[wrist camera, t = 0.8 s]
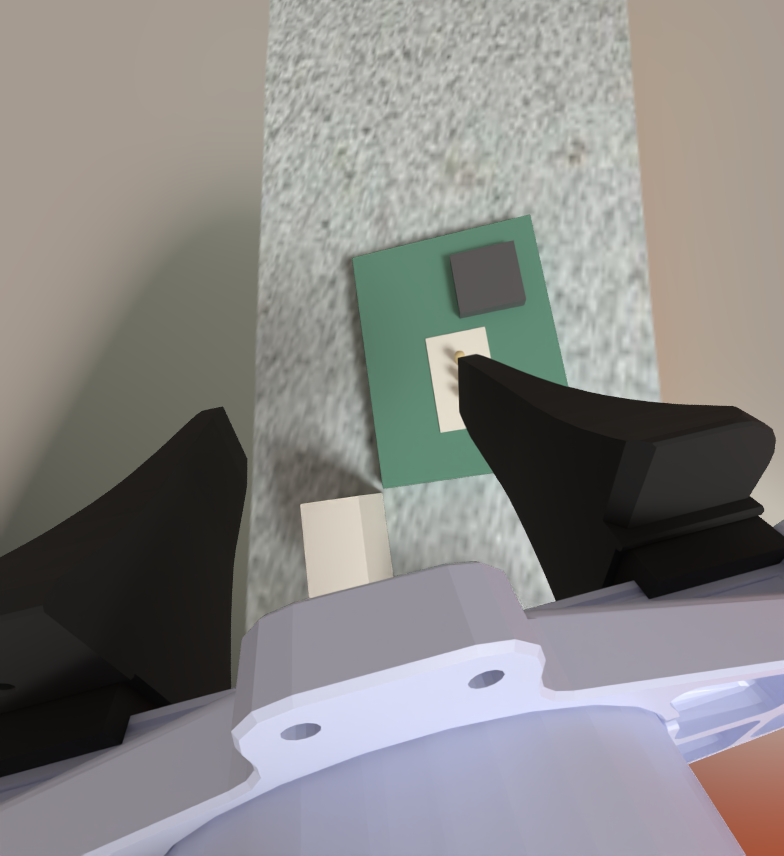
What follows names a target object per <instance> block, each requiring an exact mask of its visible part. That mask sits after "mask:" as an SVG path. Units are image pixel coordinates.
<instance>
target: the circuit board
mask: <svg viewBox="0 0 784 856" xmlns="http://www.w3.org/2000/svg"><path fill="white" fill-rule="evenodd" d="M352 260H353V268H354V275H355V283H356V290H357V298H358V305H359V313H360V320H361V327H362V335H363V342H364V350H365V357H366V365H367V372H368V380H369V387H370V395H371V402H372V410H373V417H374V425H375V432H376V440H377V447H378V455H379V462H380V470H381V477H382V485H383V489H384V488H393V487H400V486H407V485H414V484H421V483H428V482H435V481H442V480H449V479H456V478H463V477H470V476H477V475H484V474H491V473H493V471H492V470H491V468H490V467H489V465H488V464H487V462H486V461H485V459H484V458H483V456H482V455H481V453H480V451H479V450H478V448H477V447H476V445H475V444H474V442H473V440H472V439H471V437H470V435H469V433H468V431H467V429H466V427H465V425H464V422H463V420H462V418H461V416H460V413H459V391H458V358H459V357H463V356H468V355H473V354H479V355H482V356H485V357H488V358H491V359H493V360H496V361H498V362H501V363H503V364H505V365H508V366H510V367H513V368H515V369H518V370H520V371H523V372H525V373H528V374H531V375H533V376H536V377H539V378H542V379H545V380H548V381H551V382H554V383H557V384H560V385H564V386H567V387H568V383H567V379H566V374H565V370H564V365H563V361H562V356H561V352H560V347H559V343H558V338H557V334H556V329H555V325H554V320H553V316H552V311H551V307H550V302H549V298H548V293H547V289H546V284H545V280H544V275H543V271H542V266H541V261H540V257H539V252H538V248H537V243H536V239H535V234H534V230H533V225H532V221H531V216H530V215H526V216H522V217H517V218H513V219H509V220H505V221H501V222H497V223H493V224H489V225H485V226H481V227H476V228H472V229H468V230H464V231H460V232H456V233H452V234H448V235H444V236H440V237H435V238H431V239H427V240H423V241H419V242H415V243H411V244H407V245H403V246H399V247H394V248H390V249H386V250H382V251H378V252H374V253H370V254H366V255H362V256H358V257H353V258H352Z"/></svg>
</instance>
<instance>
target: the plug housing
mask: <svg viewBox="0 0 784 856" xmlns="http://www.w3.org/2000/svg"><path fill="white" fill-rule="evenodd" d="M300 508H301V519H302V529H303V539H304V549H305V559H306V570H307V580H308V590H309V598H313V597H317V596H320V595H324V594H328V593H332V592H336V591H340V590H344V589H348V588H352V587H356V586H360V585H364V584H368V583H372V582H376V581H380V580H383V579H387V578H391V577H393V569H392V562H391V554H390V547H389V539H388V532H387V524H386V517H385V509H384V502H383V494H382V493H377V494H369V495H361V496H354V497H347V498H340V499H333V500H326V501H319V502H311V503H304V504H300Z"/></svg>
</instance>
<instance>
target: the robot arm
mask: <svg viewBox="0 0 784 856" xmlns="http://www.w3.org/2000/svg"><path fill="white" fill-rule="evenodd" d="M458 391H459V413H460V416H461V418H462V420H463V422H464V425H465V427H466V429H467V431H468V433H469V435H470V437H471V439H472V440H473V442H474V444H475V445H476V447H477V448H478V450H479V451H480V453H481V455H482V456H483V458H484V459H485V461H486V462H487V464H488V465H489V467H490V468H491V470H492V471H493V473H494V474H495V476H496V478H497V479H498V481H499V482H500V484H501V485H502V487H503V488H504V490H505V492H506V494H507V495H508V497H509V499H510V501H511V503H512V505H513V507H514V509H515V511H516V513H517V515H518V517H519V519H520V521H521V523H522V525H523V527H524V529H525V532H526V534H527V536H528V538H529V540H530V542H531V544H532V547H533V549H534V551H535V553H536V555H537V558H538V560H539V562H540V565H541V567H542V569H543V572H544V574H545V576H546V578H547V581H548V583H549V585H550V588H551V590H552V593H553V595H554V598H555V600H556V601H555V602H552V603H548V604H544V605H540V606H537V607H533V608H529V609H526V610H523V609H522V607H521V605H520V603H519V601H518V599H517V597H516V595H515V593H514V591H513V589H512V587H511V585H510V583H509V581H508V579H507V577H506V575H505V573H504V571H502V570H499V569H497V568H494V567H491V566H489V565H486V564H483V563H480V562H476V561H471V562H460V563H449V564H443V565H439V566H435V567H431V568H427V569H423V570H419V571H415V572H411V573H407V574H403V575H399V576H395V577H391V578H387V579H383V580H380V581H376V582H372V583H368V584H364V585H360V586H356V587H352V588H348V589H344V590H340V591H336V592H332V593H328V594H324V595H320V596H317V597H313V598H309V599H305V600H301V601H297V602H294V603H291V604H289V605H287V606H284V607H282V608H280V609H277V610H275V611H273V612H270V613H268V614H266V615H264V616H263V617H262V618H260V619H259V620H258V621H257V622H256V624H255V625H254V626H253V627H252V628H251V629H250V630H249V631H248V633H247V634H246V635H245V636H244V637H243V638H242V643H241V651H240V660H239V668H238V677H237V685H236V688H232V689H231V606H232V583H233V567H234V558H235V550H236V545H237V539H238V534H239V528H240V523H241V517H242V512H243V506H244V500H245V495H246V488H247V458H246V455H245V453H244V451H243V449H242V447H241V444H240V442H239V441H238V438H237V436H236V434H235V431H234V429H233V427H232V425H231V423H230V421H229V419H228V416H227V415H226V412H225V410H224V408H223V407H218V408H214V409H209V410H204V411H201V412H200V413H198V414H197V415H196V416H195V417H194V418H192V419H191V420H190V421H189V422H188V423H187V424H186V425H185V426H184V427H183V428H182V429H181V430H180V431H178V432H177V433H176V434H175V435H174V436H173V437H172V438H171V439H170V440H169V441H168V442H167V443H166V444H165V445H164V446H162V447H161V448H160V449H159V450H158V451H157V452H156V453H155V454H154V455H152V456H151V457H150V458H149V459H148V460H147V461H145V462H144V463H143V464H142V465H141V466H140V467H138V468H137V469H136V470H135V471H134V472H133V473H132V474H130V475H129V476H128V477H127V478H125V479H124V480H123V481H122V482H120V483H119V484H118V485H116V486H115V487H114V488H112V489H111V490H110V491H108V492H107V493H105V494H104V495H103V496H101V497H100V498H99V499H97V500H96V501H94V502H93V503H91V504H90V505H88V506H87V507H85V508H84V509H82V510H81V511H79V512H77V513H76V514H74V515H73V516H71V517H70V518H68V519H66V520H65V521H63V522H62V523H60V524H58V525H57V526H55V527H54V528H52V529H50V530H49V531H47V532H45V533H44V534H42V535H40V536H38V537H37V538H35V539H33V540H31V541H30V542H28V543H26V544H24V545H22V546H20V547H19V548H17V549H15V550H13V551H11V552H9V553H7V554H6V555H4V556H2V557H0V856H746V855H745V853H744V851H743V850H742V848H741V847H740V845H739V844H738V842H737V841H736V839H735V837H734V836H733V834H732V833H731V831H730V829H729V828H728V826H727V825H726V823H725V822H724V820H723V818H722V817H721V815H720V814H719V813H718V811H717V809H716V807H715V806H714V804H713V803H712V801H711V800H710V798H709V797H708V795H707V793H706V792H705V790H704V789H703V787H702V786H701V784H700V782H699V781H698V780H697V778H696V776H695V775H694V773H693V772H692V770H691V768H690V767H689V765H688V764H690V763H692V762H695V761H697V760H700V759H703V758H705V757H708V756H711V755H713V754H716V753H719V752H721V751H723V750H726V749H729V748H731V747H734V746H737V745H740V744H742V743H745V742H747V741H750V740H753V739H755V738H758V737H761V736H763V735H766V734H769V733H771V732H774V731H776V730H779V729H782V728H784V520H783V521H781V522H779V523H778V524H776V525H775V526H774V527H772V526H771V525H769V524H768V523H767V522H765V521H764V520H763V519H762V518H760V517H759V516H758V515H761V514H762V513H763V512H764V508H763V506H762V505H761V504H760V503H758V502H757V501H756V500H754V499H753V498H751V497H750V494H751V492H752V490H753V489H754V487H755V486H756V484H757V483H758V481H759V479H760V478H761V476H762V474H763V473H764V471H765V470H766V468H767V466H768V464H769V463H770V460H771V458H772V456H773V454H774V449H775V442H776V438H775V435H774V432H773V429H772V428H770V427H769V426H768V425H766V424H765V423H763V422H761V421H759V420H758V419H756V418H754V417H753V416H751V415H749V414H748V413H746V412H744V411H742V410H741V409H739V408H737V407H734V406H713V405H712V406H711V405H682V404H669V403H658V402H648V401H640V400H632V399H625V398H619V397H613V396H607V395H601V394H597V393H592V392H587V391H583V390H579V389H575V388H571V387H567V386H564V385H560V384H557V383H554V382H551V381H548V380H545V379H542V378H539V377H536V376H533V375H531V374H528V373H525V372H523V371H520V370H518V369H515V368H513V367H510V366H508V365H505V364H503V363H501V362H498V361H496V360H493V359H491V358H488V357H485V356H482V355H479V354H473V355H468V356H463V357H459V358H458Z"/></svg>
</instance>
